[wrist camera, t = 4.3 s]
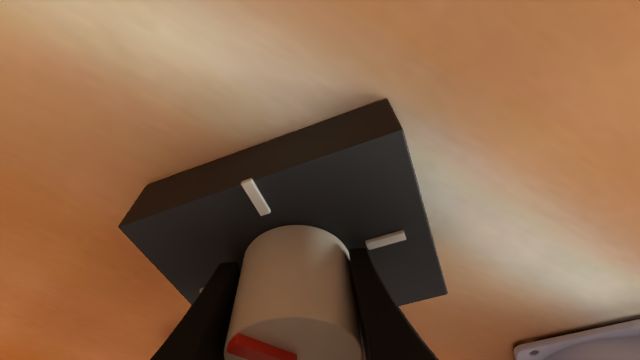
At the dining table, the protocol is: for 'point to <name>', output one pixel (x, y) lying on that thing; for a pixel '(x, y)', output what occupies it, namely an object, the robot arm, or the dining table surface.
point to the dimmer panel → (296, 204)
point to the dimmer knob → (295, 299)
